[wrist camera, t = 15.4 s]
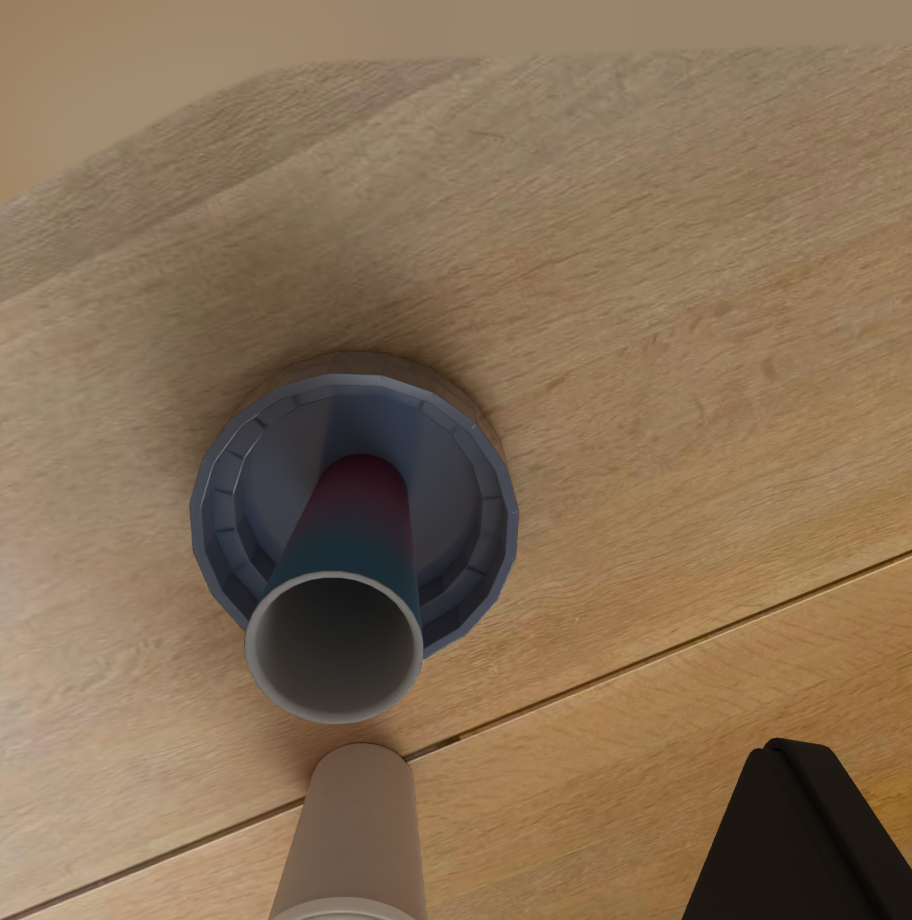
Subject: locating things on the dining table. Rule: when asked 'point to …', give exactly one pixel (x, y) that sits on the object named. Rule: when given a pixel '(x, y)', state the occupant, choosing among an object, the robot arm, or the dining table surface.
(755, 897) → the robot arm
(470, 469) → the bowl
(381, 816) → the coffee cup
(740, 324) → the dining table surface
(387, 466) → the cup
